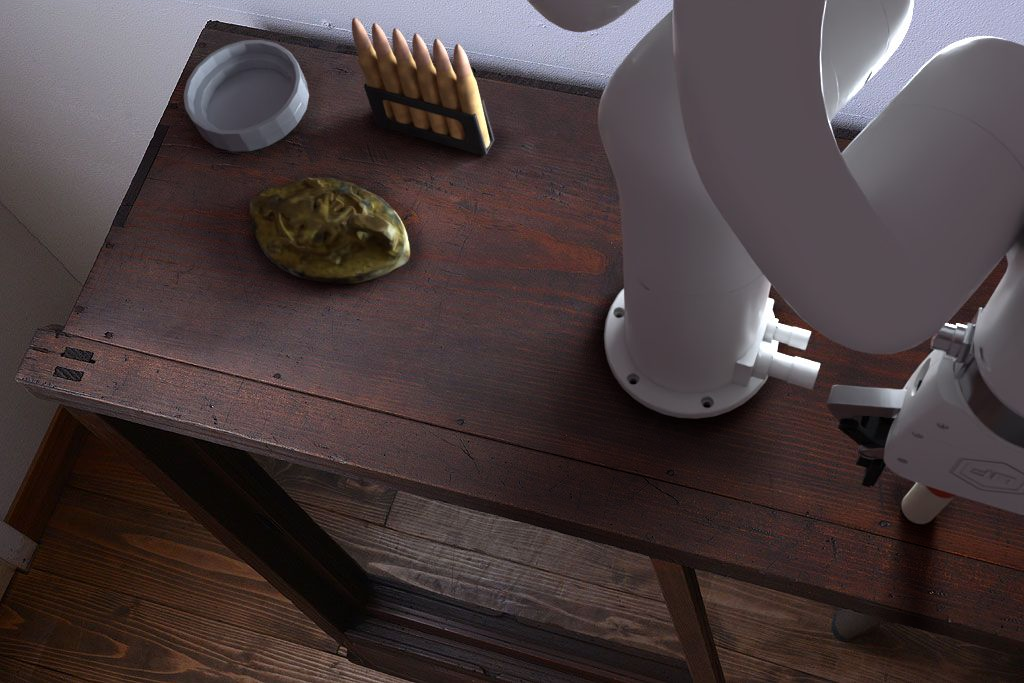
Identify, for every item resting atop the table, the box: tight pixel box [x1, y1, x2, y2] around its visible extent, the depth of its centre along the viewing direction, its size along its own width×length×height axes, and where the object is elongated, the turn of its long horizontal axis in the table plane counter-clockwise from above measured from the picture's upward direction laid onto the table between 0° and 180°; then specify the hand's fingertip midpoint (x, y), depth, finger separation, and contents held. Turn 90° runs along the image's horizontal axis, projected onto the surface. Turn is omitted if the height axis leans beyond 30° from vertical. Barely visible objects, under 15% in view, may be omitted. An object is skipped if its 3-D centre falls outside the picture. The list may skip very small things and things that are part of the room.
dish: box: [183, 39, 310, 153], centre depth 86 cm, size 10×10×3 cm
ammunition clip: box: [351, 17, 495, 157], centre depth 78 cm, size 11×2×12 cm, turn 66°
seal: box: [248, 176, 411, 285], centre depth 78 cm, size 9×5×15 cm
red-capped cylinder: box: [900, 482, 957, 525], centre depth 61 cm, size 2×2×8 cm
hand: (952, 489), depth 60 cm, fingers open, 9 cm apart
